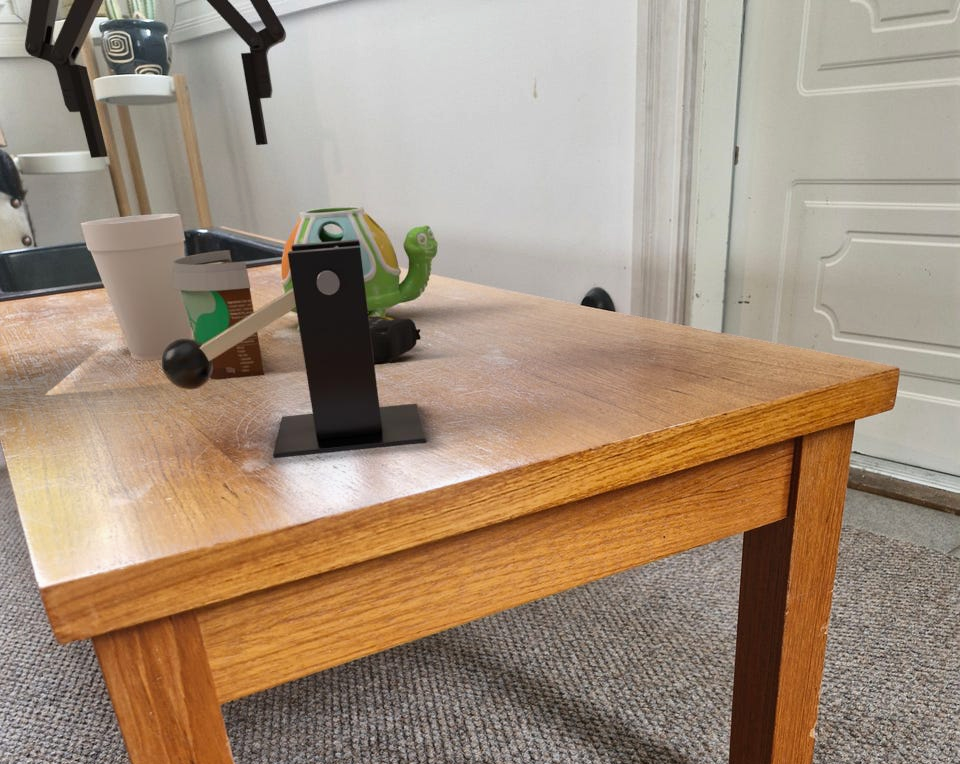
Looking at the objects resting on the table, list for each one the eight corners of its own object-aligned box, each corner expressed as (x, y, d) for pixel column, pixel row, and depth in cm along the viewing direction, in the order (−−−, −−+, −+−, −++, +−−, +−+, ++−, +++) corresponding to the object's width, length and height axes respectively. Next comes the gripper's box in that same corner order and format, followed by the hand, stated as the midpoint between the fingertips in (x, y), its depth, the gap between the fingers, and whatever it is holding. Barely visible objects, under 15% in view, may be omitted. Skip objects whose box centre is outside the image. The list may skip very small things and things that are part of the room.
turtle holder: (449, 322, 100) (440, 204, 94) (285, 337, 98) (265, 218, 92) (438, 304, 111) (429, 197, 105) (290, 318, 109) (273, 209, 103)
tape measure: (391, 372, 81) (387, 329, 79) (325, 370, 83) (319, 328, 81) (422, 355, 86) (419, 314, 84) (359, 353, 89) (355, 313, 87)
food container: (186, 364, 90) (162, 256, 85) (248, 355, 91) (228, 249, 86) (198, 391, 79) (171, 270, 74) (267, 380, 81) (246, 261, 76)
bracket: (275, 471, 59) (237, 261, 52) (284, 432, 66) (251, 245, 60) (427, 455, 59) (407, 246, 53) (418, 418, 67) (400, 232, 61)
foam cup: (97, 364, 92) (60, 226, 86) (147, 344, 100) (116, 216, 94) (179, 363, 90) (147, 221, 84) (223, 343, 98) (197, 212, 91)
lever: (178, 403, 59) (146, 360, 57) (186, 391, 61) (156, 350, 60) (361, 291, 57) (333, 243, 55) (360, 284, 59) (334, 238, 58)
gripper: (-85, -187, 61) (16, 163, 72) (282, -204, 63) (327, 139, 74) (-43, -156, 68) (43, 161, 78) (288, -172, 70) (329, 139, 80)
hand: (181, 151), depth 76 cm, fingers open, 13 cm apart
